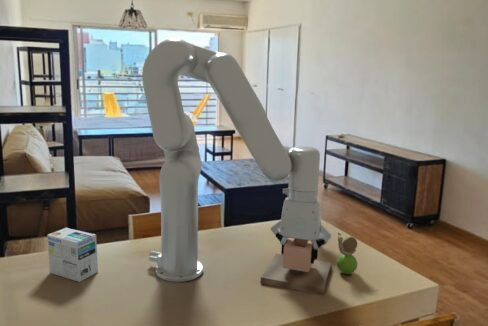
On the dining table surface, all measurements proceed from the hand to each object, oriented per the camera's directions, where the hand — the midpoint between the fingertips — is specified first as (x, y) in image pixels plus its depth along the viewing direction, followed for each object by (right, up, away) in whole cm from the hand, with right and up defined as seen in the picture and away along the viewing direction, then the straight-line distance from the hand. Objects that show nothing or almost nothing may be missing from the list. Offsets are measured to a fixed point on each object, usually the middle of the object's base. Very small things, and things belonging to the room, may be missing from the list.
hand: (299, 258), depth 117 cm
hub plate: (0, -5, +1) cm, 5 cm away
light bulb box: (-59, -3, -2) cm, 59 cm away
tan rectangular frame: (0, -1, 0) cm, 1 cm away
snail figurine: (+13, -5, +3) cm, 14 cm away
